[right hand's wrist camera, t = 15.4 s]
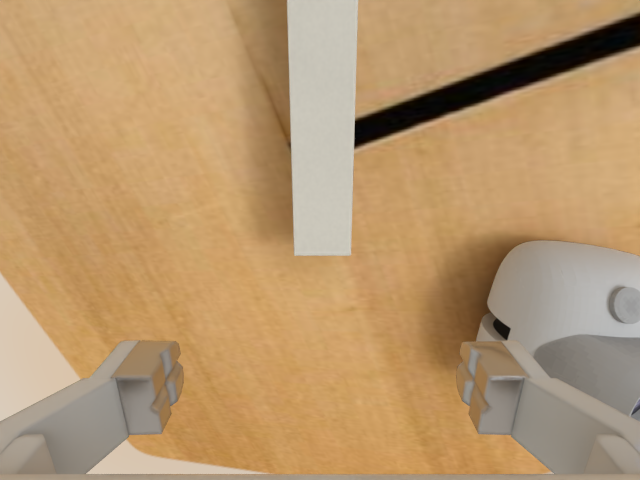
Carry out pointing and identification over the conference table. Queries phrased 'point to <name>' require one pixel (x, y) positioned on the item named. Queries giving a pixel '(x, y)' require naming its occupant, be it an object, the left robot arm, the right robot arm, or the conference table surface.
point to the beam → (322, 123)
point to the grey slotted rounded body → (573, 316)
